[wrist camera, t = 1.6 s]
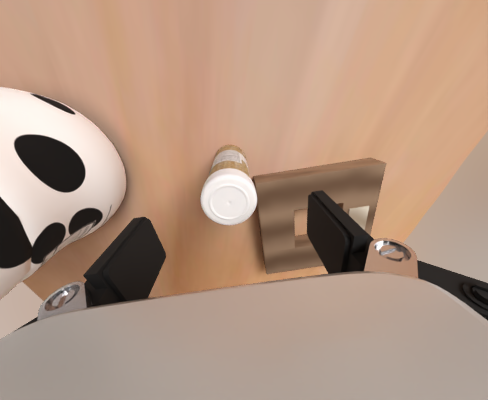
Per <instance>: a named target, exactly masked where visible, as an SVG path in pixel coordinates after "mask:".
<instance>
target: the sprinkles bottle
mask: <svg viewBox="0 0 488 400" xmlns="http://www.w3.org/2000/svg"><path fill="white" fill-rule="evenodd" d="M200 201H201V206H202V209H203V211H204V213H205V214H206V215H207V216H208V217H209V218H210V219H211V220H213V221H214V222H216V223H219V224H222V225H236V224H239V223H242V222H244V221H245V220H247V219H248V218H249V217H250V216H251V215H252V214H253V212H254V210H255V208H256V205H257V194H256V190H255V186H254V184H253V182H252V180H251V179H250V174H249V169H248V165H247V162H246V157H245V154H244V152H243V151H242V150H241V149H240V148H239V147H237V146H234V145H226V146H224V147H221V148H220V149H219V150H218V152H217V153H216V156H215V160H214V162H213V165H212V168H211V170H210V173H209V177H208V178H207V180H206V182H205V183H204V186H203V189H202V192H201V199H200Z"/></svg>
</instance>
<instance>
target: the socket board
mask: <svg viewBox="0 0 488 400" xmlns="http://www.w3.org/2000/svg"><path fill="white" fill-rule="evenodd" d="M385 167H386V163H385V162H382V161H379V160H376V159H373V158H367V159H360V160H354V161H348V162H341V163H335V164H329V165H322V166H316V167H310V168H303V169H297V170H290V171H284V172H278V173H271V174H265V175H259V176H253V178H254V186H255V190H256V194H257V209H258V217H259V225H260V233H261V241H262V249H263V257H264V264H265V268H266V273H267V274H271V273H278V272H285V271H291V270H298V269H304V268H311V267H318V266H324V265H323V263H322V261H321V259H320V258H319V256H318V254H317V252H316V250H315V249H314V247H313V245H312V243H311V242H310V240H309V238H308V235H307V234H305V235H299V236H295V231H294V210H300V209H306V208H308V195H310V194H311V192H314V191H320V190H323V191H324V192H325V193H326V194H327V195H328V196H329V197H330V198H331V199H332V200H333V201H334V202H335V203H336V204H338V205H339V206H340V207H341V208H342V209H343V210H344V211H345V212H346V213H347V214H348V215H349V216H350V217H351V218H352V219H353V220H354V221H355V222H356V223H358V224H359V225H360V226H361V227H362V228H363V229H364V230H365V231H366V232H367V233H368V234H369V235H370V233H371V229H372V225H373V220H374V216H375V211H376V207H377V202H378V198H379V193H380V189H381V184H382V180H383V176H384V171H385Z"/></svg>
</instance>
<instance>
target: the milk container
mask: <svg viewBox="0 0 488 400" xmlns="http://www.w3.org/2000/svg"><path fill="white" fill-rule="evenodd" d="M125 192H126V175H125V168H124V165H123V162H122V160H121V158H120V156H119V154H118V152H117V150H116V148H115V146H114V145H113V143H112V142H111V141H110V140H109V138H108V137H107V136H106V135H105V134H104V133H103V132H102V131H101V130H100V129H99V128H98V127H97V126H96V125H95V124H94V123H93V122H91V121H90V120H89V119H87V118H86V117H85V116H83V115H82V114H80V113H79V112H77V111H76V110H74V109H72V108H71V107H69V106H67V105H65V104H63V103H60V102H58V101H56V100H53V99H50V98H47V97H44V96H41V95H37V94H34V93H30V92H26V91H21V90H16V89H11V88H4V87H0V299H2V298H3V297H4V296H5V295H7V294H8V293H9V292H10V291H11V290H12V289H13V288H14V287H15V286H16V285H17V284H18V283H20V282H22V281H23V280H25V279H27V278H28V277H29V276H31V275H32V274H33V273H34V272H36V271H37V270H38V269H39V268H40V267H41V266H42V265H44V264H45V263H46V262H47V261H48V260H49V259H50V258H51V257H53V256H54V255H55V254H56V253H57V252H59V251H60V250H61V249H62V248H64V247H65V246H66V245H68V244H70V243H72V242H74V241H76V240H78V239H81V238H83V237H85V236H87V235H89V234H90V233H92V232H94V231H96V230H97V229H98V228H100V227H101V226H103V225H104V224H105V223H106V222H107V221H108V220H109V219H110V218H111V217H112V216H113V214H114V213H115V212H116V210H117V209H118V208H119V206H120V204H121V202H122V201H123V198H124V196H125Z"/></svg>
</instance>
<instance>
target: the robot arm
mask: <svg viewBox="0 0 488 400" xmlns="http://www.w3.org/2000/svg"><path fill="white" fill-rule="evenodd" d="M307 235H308V238H309V240H310V242H311V243H312V245H313V247H314V249H315V250H316V252H317V254H318V256H319V258H320V259H321V261H322V263H323V265H324V266H325V268H326V270H327V272H328V274H323V275H315V276H306V277H298V278H291V279H283V280H276V281H268V282H261V283H253V284H246V285H238V286H231V287H224V288H217V289H209V290H202V291H195V292H188V293H181V294H174V295H167V296H160V297H153V298H148V296H149V294H150V292H151V289H152V287H153V285H154V283H155V280H156V278H157V276H158V274H159V271H160V269H161V267H162V265H163V263H164V260H165V258H166V253H165V251H164V248H163V246H162V244H161V242H160V240H159V238H158V236H157V234H156V232H155V229H154V227H153V225H152V223H151V221H150V220H149V219H147V218H146V217H140V218H134V219H133V220H132V221H131V222H130V223H129V224H128V225H127V227H126V228H125V229H124V230H123V231H122V232H121V233H120V234H119V236H118V237H117V238H116V239H115V240H114V241H113V242H112V243H111V245H110V246H109V247H108V248H107V249H106V250H105V251H104V253H103V254H102V255H101V256H100V257H99V258H98V259H97V260H96V262H95V263H94V264H93V265H92V266H91V267H90V268H89V269H88V271H87V272H86V273H85V274H84V275H83V276H84V277H85V278H86V279H87V281H86V282H85V283H83V282H80V281H78V282H73V283H69V284H67V285H65V286H63V287H61V288H60V289H58V290H56V291H55V292H54V293H52V294H51V295H50V296H49V297H48V298H47V299H46V300H45V301H44V302H43V303H42V305H41V306H40V309H39V313H38V317H37V318H35V319H33V320H32V321H30V322H28V323H27V324H25V325H23V326H22V327H20V328H18V329H17V330H15V331H14V332H12V333H10V334H8V335H6V336H5V337H3V338H1V339H0V400H488V283H486V282H483V281H480V280H476V279H473V278H470V277H467V276H464V275H461V274H458V273H455V272H452V271H449V270H446V269H443V268H440V267H436V266H433V265H430V264H427V263H424V262H421V261H418V260H417V256H416V253H415V252H414V251H413V250H412V249H411V248H410V247H408V246H407V245H406V244H404V243H401V242H399V241H396V240H393V239H387V238H379V239H375V240H374V239H373V238H372V237H371V236H370V235H369V234H368V233H367V232H366V231H365V230H364V229H363V228H362V227H361V226H360V225H359V224H358V223H356V222H355V221H354V220H353V219H352V218H351V217H350V216H349V215H348V214H347V213H346V212H345V211H344V210H343V209H342V208H341V207H340V206H339V205H338V204H336V203H335V202H334V201H333V200H332V199H331V198H330V197H329V196H328V195H327V194H326V193H325V192H324V191H323V190H320V191H314V192H311V194H310V195H308V214H307Z"/></svg>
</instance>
